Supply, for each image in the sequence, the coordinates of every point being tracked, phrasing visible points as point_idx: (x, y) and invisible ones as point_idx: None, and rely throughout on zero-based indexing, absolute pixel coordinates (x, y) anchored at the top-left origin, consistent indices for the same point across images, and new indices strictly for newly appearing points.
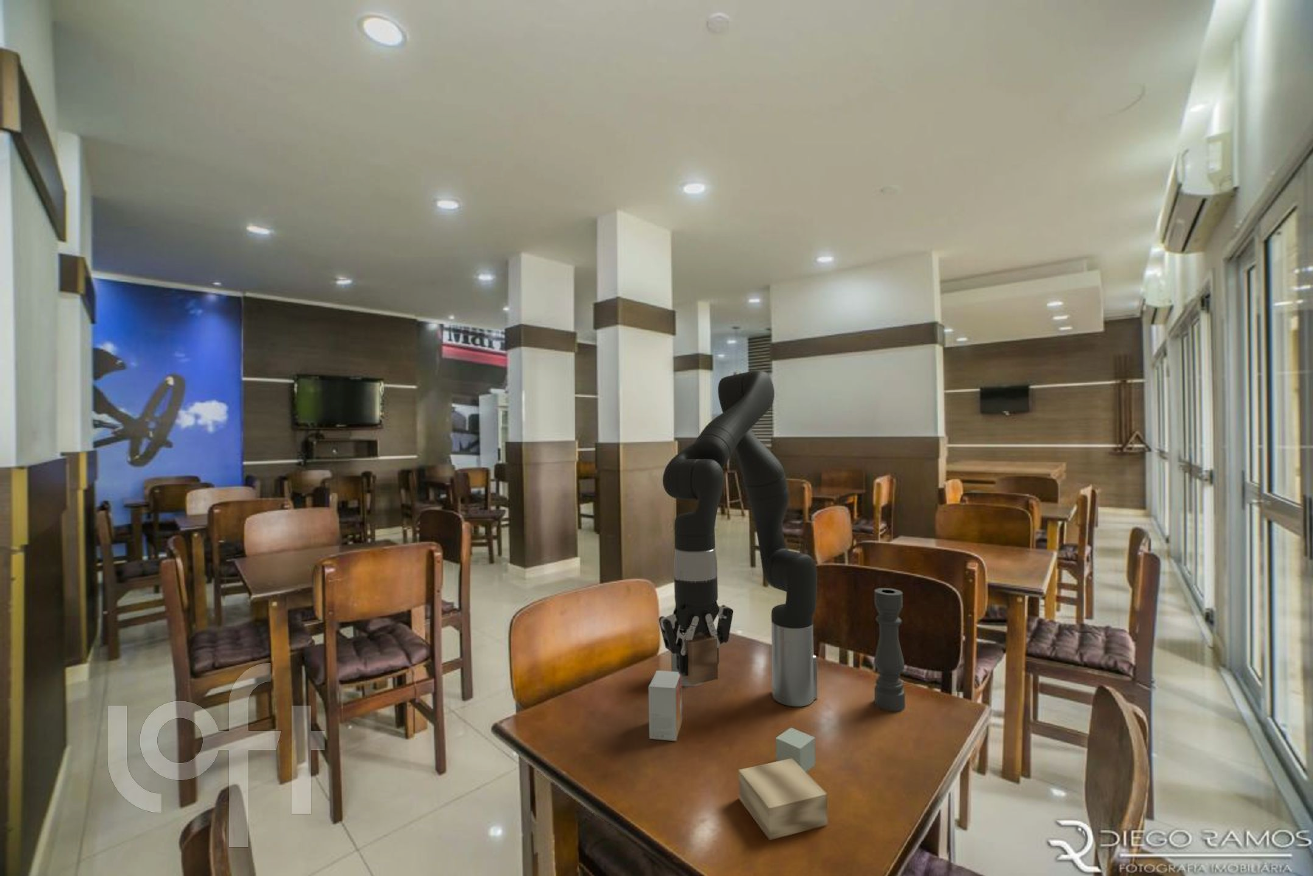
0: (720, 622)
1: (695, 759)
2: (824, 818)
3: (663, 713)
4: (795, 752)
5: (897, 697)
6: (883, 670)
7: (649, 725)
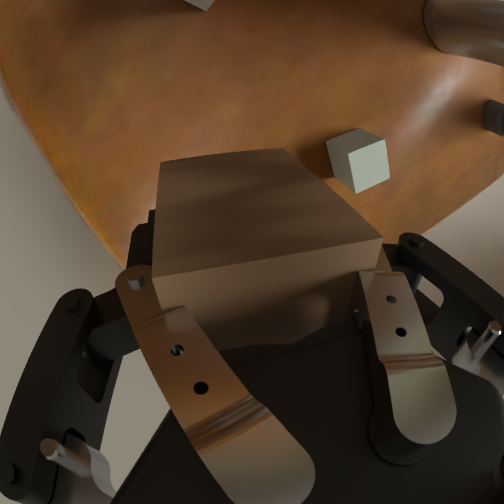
0: (454, 313)
1: (213, 74)
2: None
3: None
4: (349, 182)
5: (499, 134)
6: None
7: None
